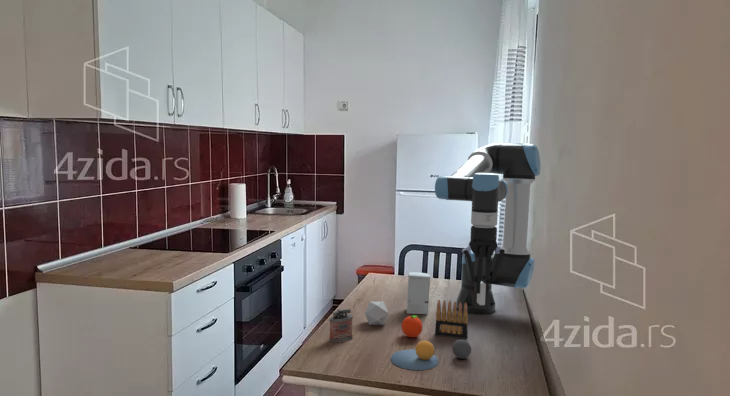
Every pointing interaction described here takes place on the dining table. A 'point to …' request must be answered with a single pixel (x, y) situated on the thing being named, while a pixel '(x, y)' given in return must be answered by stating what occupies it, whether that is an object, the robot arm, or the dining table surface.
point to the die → (376, 313)
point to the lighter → (341, 326)
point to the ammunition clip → (451, 321)
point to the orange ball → (424, 350)
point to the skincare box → (418, 293)
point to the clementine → (412, 326)
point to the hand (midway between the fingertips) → (480, 303)
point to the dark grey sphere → (461, 349)
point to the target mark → (412, 360)
